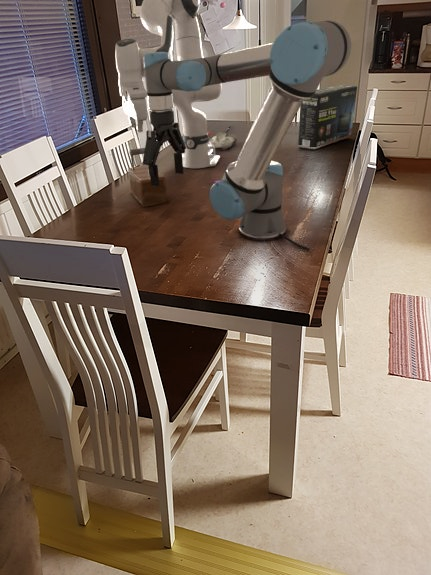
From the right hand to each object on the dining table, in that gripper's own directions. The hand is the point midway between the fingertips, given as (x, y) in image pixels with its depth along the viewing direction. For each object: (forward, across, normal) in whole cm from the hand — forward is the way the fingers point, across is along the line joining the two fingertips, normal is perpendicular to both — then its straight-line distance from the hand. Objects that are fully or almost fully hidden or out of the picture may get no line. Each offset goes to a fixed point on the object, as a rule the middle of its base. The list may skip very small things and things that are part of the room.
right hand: (167, 179), depth 149 cm
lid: (+7, -19, -24) cm, 32 cm away
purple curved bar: (+16, -40, 0) cm, 43 cm away
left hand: (-9, -23, -29) cm, 38 cm away
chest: (+16, -19, -24) cm, 35 cm away
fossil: (+16, -100, -38) cm, 108 cm away
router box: (+16, -127, +12) cm, 128 cm away
